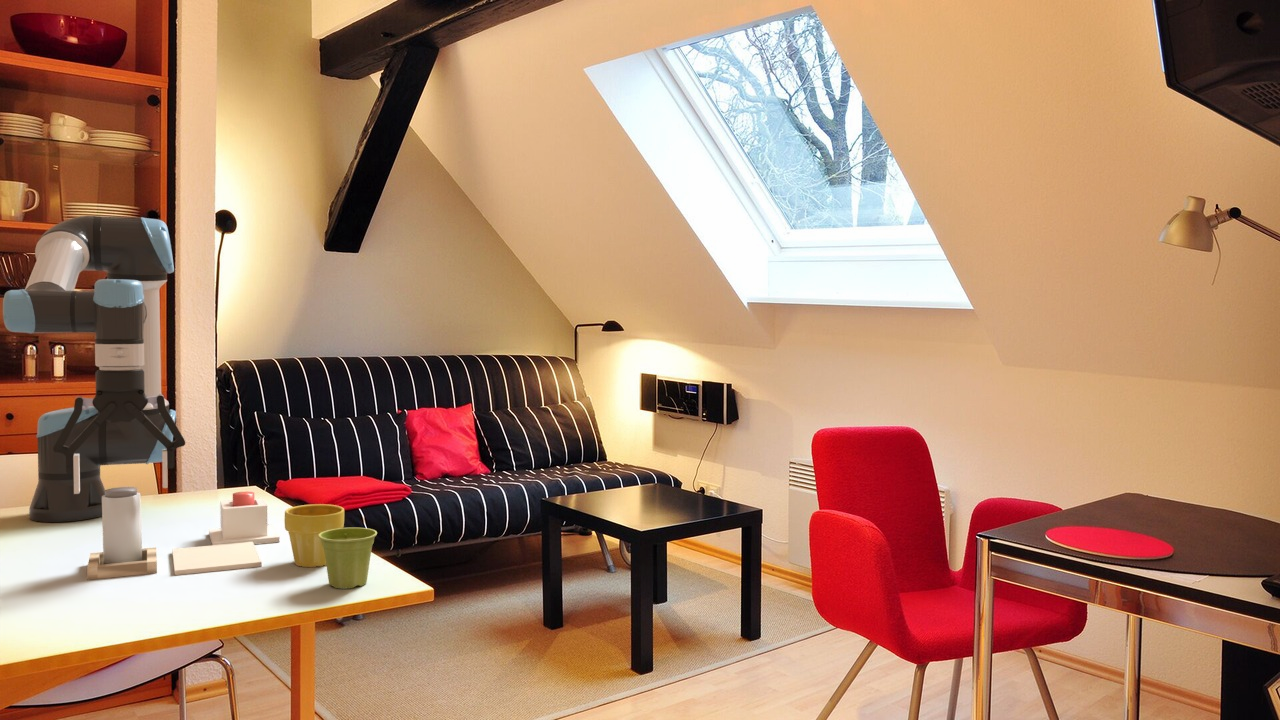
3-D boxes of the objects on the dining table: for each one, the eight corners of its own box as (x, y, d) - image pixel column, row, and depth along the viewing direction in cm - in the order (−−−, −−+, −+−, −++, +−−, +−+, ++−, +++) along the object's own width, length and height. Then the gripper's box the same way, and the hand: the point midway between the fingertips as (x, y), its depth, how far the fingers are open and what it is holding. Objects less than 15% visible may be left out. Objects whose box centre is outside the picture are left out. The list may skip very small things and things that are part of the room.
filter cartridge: (104, 566, 173) (101, 488, 172) (142, 562, 176) (140, 485, 175) (103, 574, 168) (101, 493, 167) (142, 570, 170) (140, 490, 170)
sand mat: (172, 553, 182) (172, 548, 182) (252, 545, 189) (252, 541, 189) (174, 575, 168) (174, 570, 168) (261, 566, 175) (261, 562, 174)
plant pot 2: (326, 576, 169) (325, 527, 169) (381, 576, 170) (381, 526, 169) (312, 592, 160) (312, 540, 159) (371, 592, 161) (371, 540, 160)
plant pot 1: (356, 558, 181) (356, 506, 180) (320, 572, 171) (320, 517, 171) (309, 553, 184) (309, 501, 184) (272, 566, 175) (271, 512, 174)
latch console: (209, 534, 197) (208, 500, 197) (272, 528, 203) (272, 495, 202) (212, 548, 187) (212, 511, 186) (279, 542, 192) (279, 506, 192)
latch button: (232, 517, 195) (231, 492, 195) (253, 515, 197) (253, 490, 197) (233, 521, 192) (233, 496, 191) (255, 519, 193) (255, 494, 193)
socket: (90, 564, 174) (90, 553, 174) (156, 558, 179) (156, 547, 179) (87, 579, 165) (87, 568, 165) (156, 572, 169) (156, 561, 169)
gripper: (33, 370, 161) (36, 498, 162) (199, 368, 172) (201, 488, 173) (38, 368, 167) (40, 491, 168) (197, 366, 179) (199, 481, 180)
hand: (121, 489), depth 171 cm, fingers open, 13 cm apart
